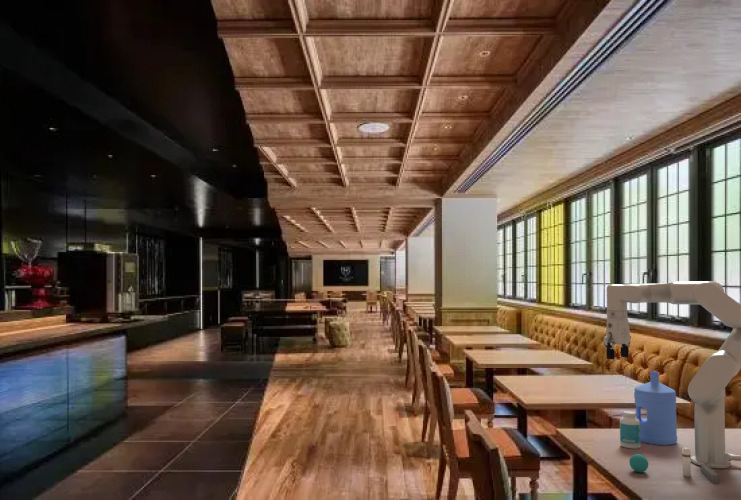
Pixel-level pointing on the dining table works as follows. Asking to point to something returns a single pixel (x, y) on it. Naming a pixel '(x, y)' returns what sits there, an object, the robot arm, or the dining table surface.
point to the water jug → (656, 412)
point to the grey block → (710, 473)
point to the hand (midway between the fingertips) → (617, 358)
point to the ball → (638, 463)
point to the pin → (686, 462)
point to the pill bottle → (629, 430)
